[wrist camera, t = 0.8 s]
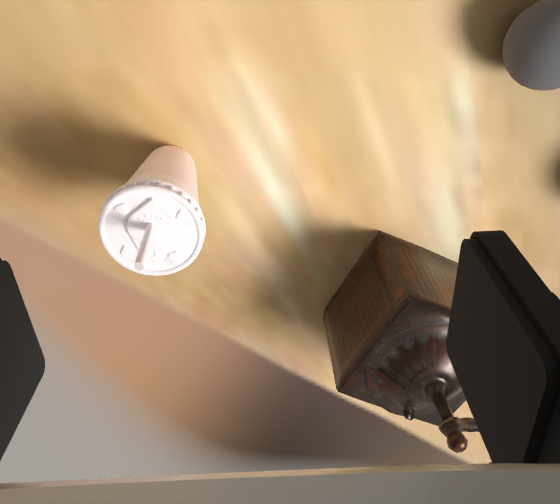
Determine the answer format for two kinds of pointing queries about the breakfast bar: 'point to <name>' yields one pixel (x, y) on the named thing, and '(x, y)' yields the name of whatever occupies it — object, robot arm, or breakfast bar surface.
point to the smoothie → (155, 215)
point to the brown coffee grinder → (398, 335)
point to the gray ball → (535, 46)
